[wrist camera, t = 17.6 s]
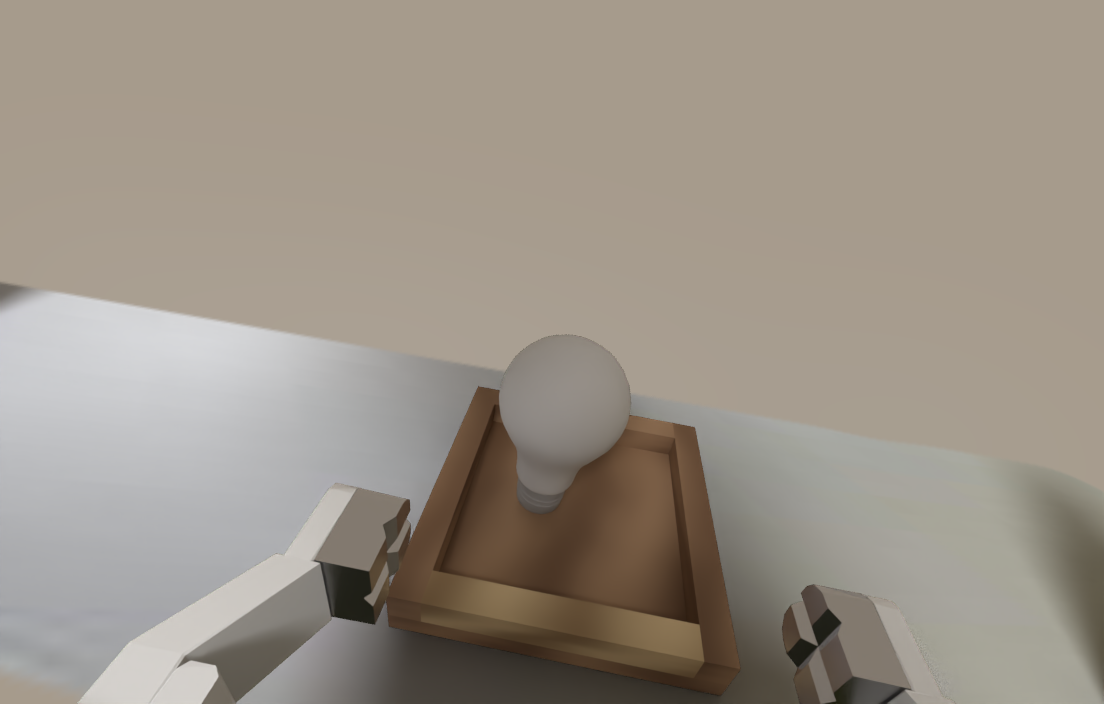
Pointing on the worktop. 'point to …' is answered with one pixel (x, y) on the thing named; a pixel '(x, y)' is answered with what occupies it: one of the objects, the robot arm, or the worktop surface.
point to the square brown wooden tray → (575, 558)
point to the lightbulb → (561, 413)
